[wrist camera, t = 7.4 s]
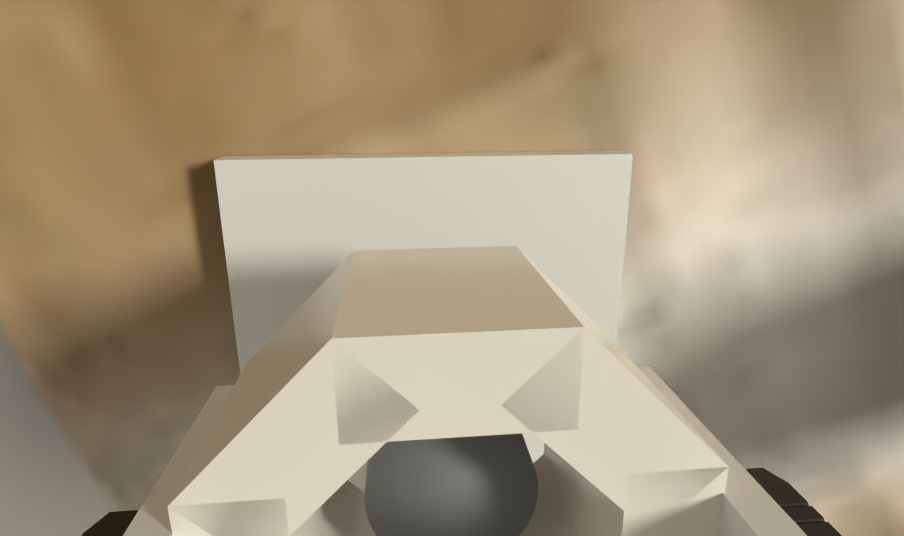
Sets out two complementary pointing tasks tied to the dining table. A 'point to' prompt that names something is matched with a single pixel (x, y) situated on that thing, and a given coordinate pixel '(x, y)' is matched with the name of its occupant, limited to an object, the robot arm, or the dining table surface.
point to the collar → (445, 405)
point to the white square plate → (417, 227)
